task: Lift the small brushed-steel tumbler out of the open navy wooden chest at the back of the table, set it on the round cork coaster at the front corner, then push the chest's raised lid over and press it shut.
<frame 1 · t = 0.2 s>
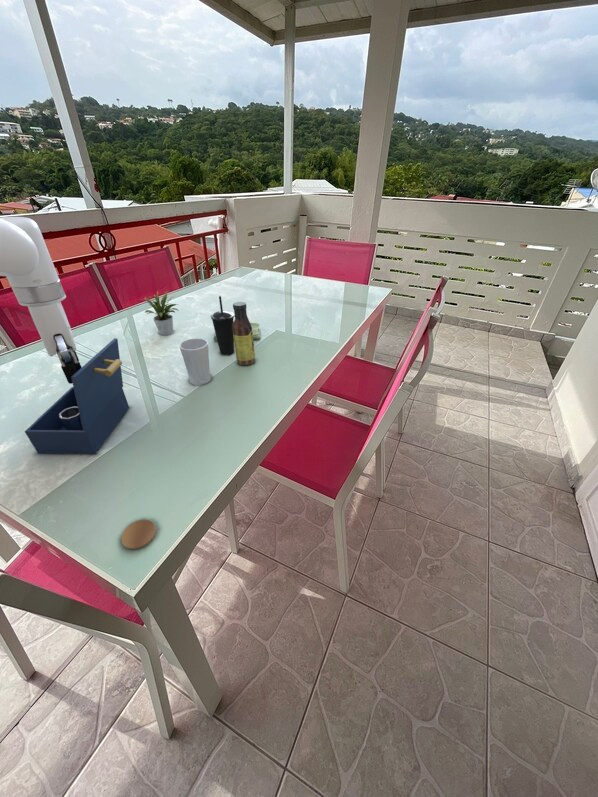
hand: (74, 371, 71), 17 cm above the table, tool pointing down, fingers open, 9 cm apart
lid: (109, 383, 74), point 13 cm above the table, hinge at 101.0°
chest: (87, 428, 82), on the table
cup: (200, 379, 102), on the table
drinking cup: (227, 352, 117), on the table
house plant: (164, 334, 130), on the table
coaster: (139, 534, 58), on the table
tumbler: (81, 433, 80), point 1 cm above the table, touching chest
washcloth: (237, 335, 129), on the table
sauce bottle: (245, 362, 111), on the table
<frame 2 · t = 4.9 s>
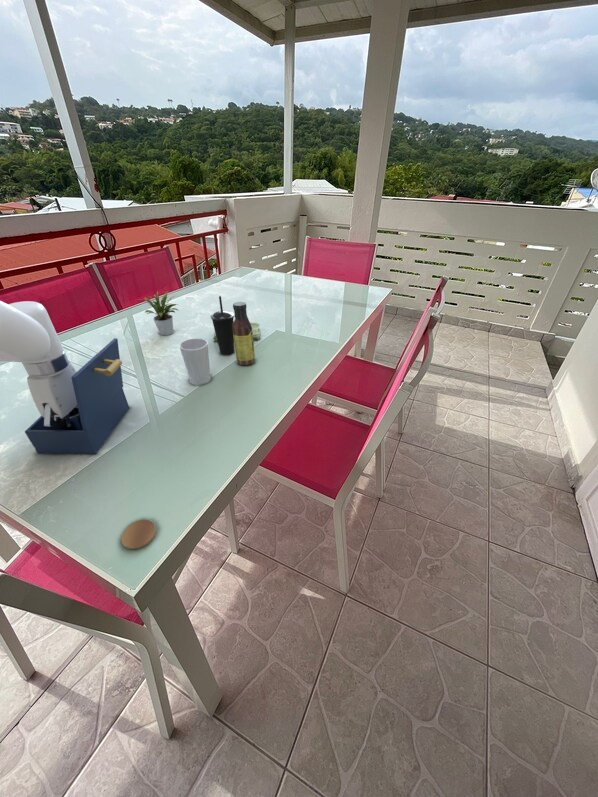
hand: (79, 429, 79), 2 cm above the table, tool pointing down, fingers closed on tumbler, 4 cm apart
tumbler: (81, 433, 80), point 1 cm above the table, touching chest, gripper
everything else where it was.
when the fingers open (2 cm above the table, at t = 14.4 s): tumbler stays where it is, resting on coaster.
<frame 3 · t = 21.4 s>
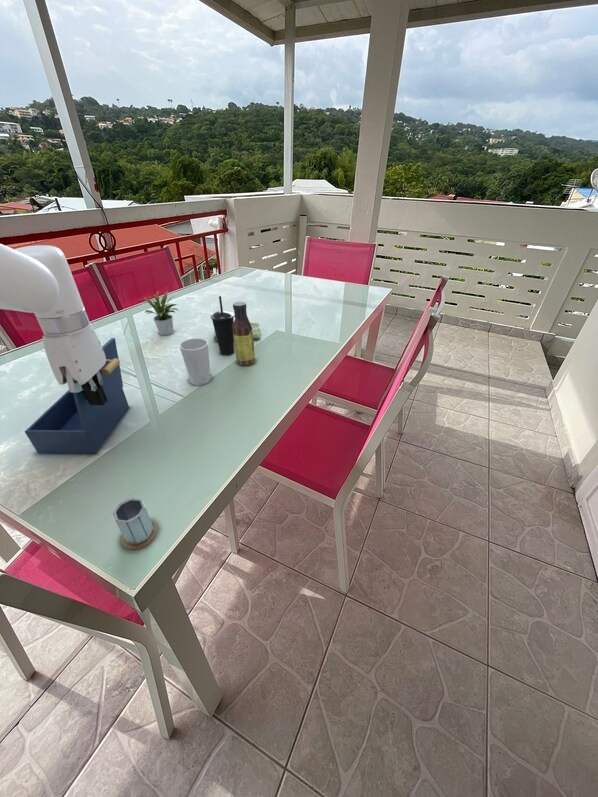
hand: (99, 402, 70), 12 cm above the table, tool pointing down, fingers closed
lid: (108, 383, 74), point 13 cm above the table, hinge at 98.7°, touching gripper
tumbler: (139, 532, 58), resting on coaster
everything else where it was.
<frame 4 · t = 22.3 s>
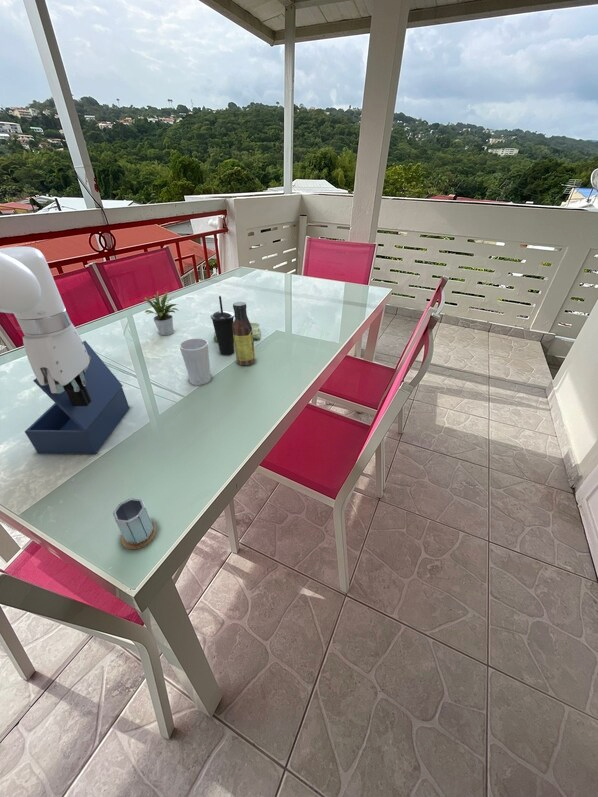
hand: (82, 403, 70), 12 cm above the table, tool pointing down, fingers closed
lid: (90, 381, 74), point 14 cm above the table, hinge at 67.8°, touching gripper
everything else where it was.
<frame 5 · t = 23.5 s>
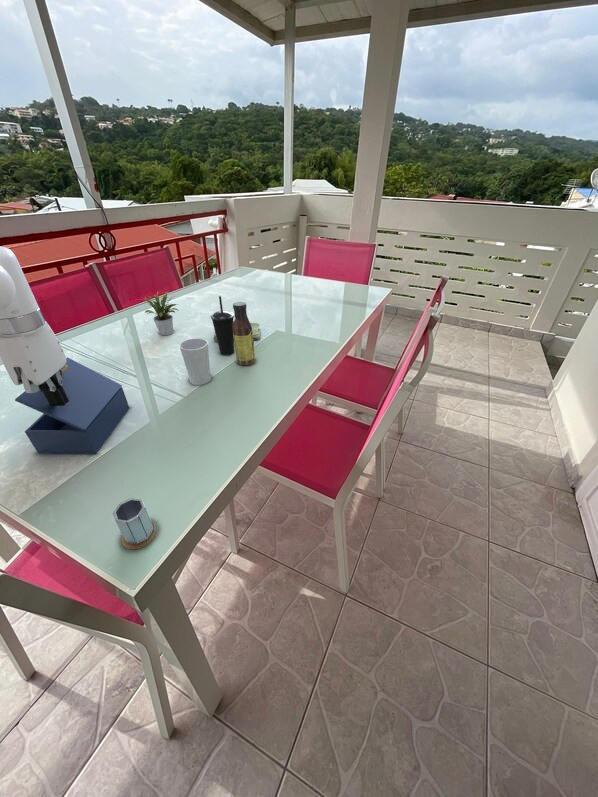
hand: (59, 403, 70), 12 cm above the table, tool pointing down, fingers closed
lid: (77, 386, 75), point 12 cm above the table, hinge at 35.9°
everything else where it was.
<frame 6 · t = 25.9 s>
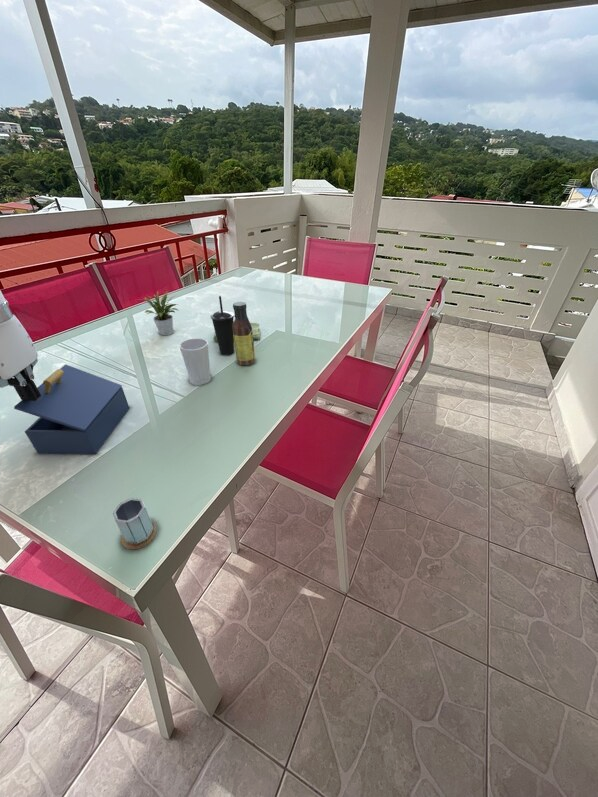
hand: (31, 398, 70), 13 cm above the table, tool pointing down, fingers closed
lid: (75, 389, 75), point 12 cm above the table, hinge at 26.0°, touching gripper
everything else where it was.
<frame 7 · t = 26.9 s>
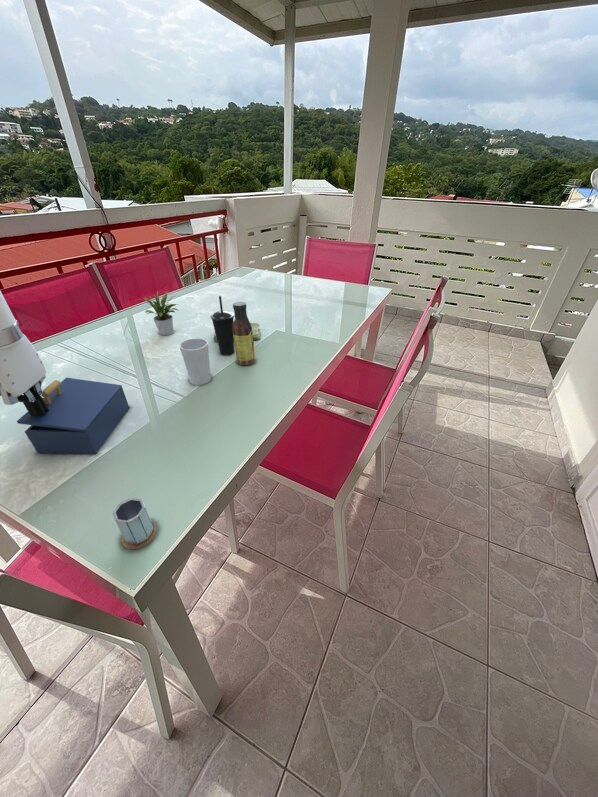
hand: (40, 413, 72), 9 cm above the table, tool pointing down, fingers closed
lid: (73, 396, 76), point 10 cm above the table, hinge at 8.9°, touching gripper
everything else where it was.
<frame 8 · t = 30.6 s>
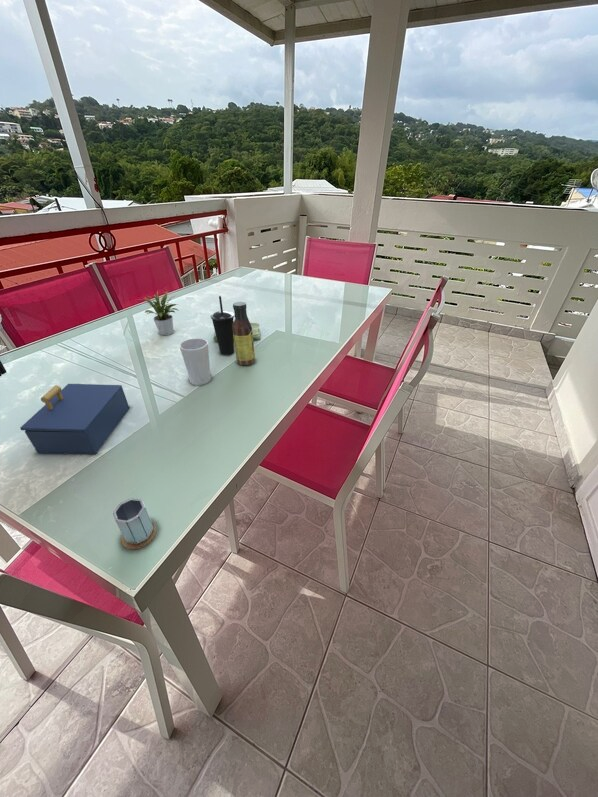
lid: (73, 399, 77), point 9 cm above the table, hinge at 1.2°
everything else where it was.
at the end: tumbler 0.1 cm off-centre on the coaster, point 0.5 cm above the coaster's base; tumbler tilted 0°; lid at +1° (first picture: +101°) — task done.
